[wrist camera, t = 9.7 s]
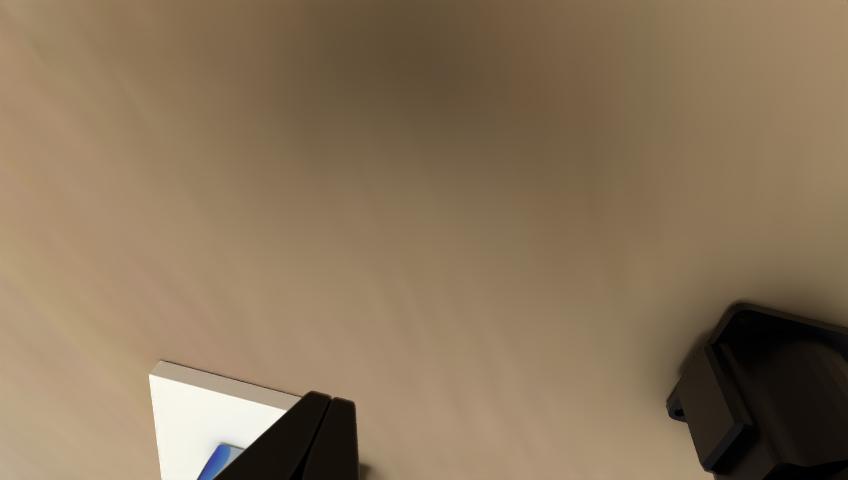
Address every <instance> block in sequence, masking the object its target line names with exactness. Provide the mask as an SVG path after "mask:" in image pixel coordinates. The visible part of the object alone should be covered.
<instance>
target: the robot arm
mask: <svg viewBox="0 0 848 480" xmlns="http://www.w3.org/2000/svg"><path fill="white" fill-rule="evenodd" d="M742 315H747V316H746V317H745V318H739V317H740V316H742ZM666 407H667V411H668V414H669V416H670V417H671V418H672V419H674V420H678V421H682V422H685V423H687V424H688V427H689V430H690V433H691V436H692V439H693V443H694V446H695V449H696V452H697V455H698V458H699V461H700V464H701V466H702V467H703V469H704V471H706V472H710V473H713V475H714V478H715V480H848V329H847V328H843V327H839V326H835V325H831V324H827V323H823V322H819V321H815V320H811V319H807V318H803V317H799V316H795V315H791V314H787V313H783V312H779V311H775V310H772V309H768V308H764V307H760V306H756V305H752V304H747V303H741V304H736V305H735V306H733V307H731V308H730V309H729V311H728V312H727V314H726V315H725V317H724V318H723V320H722V321H721V323H720V324H719V326H718V327H717V329H716V330H715V332H714V333H713V335H712V336H711V338H710V339H709V341H708V342H707V344H706V345H704V346H703V347H702V348H701V349H700V350H699V352H698V353H697V355H696V356H695V358H694V359H693V361H692V363H691V364H690V366H689V367H688V369H687V370H686V372H685V373H684V375H683V376H682V378H681V379H680V381H679V382H678V384H677V385H676V390H675V392H674V393H673V395H672V396H671V398H670V399H669V401H668V402H667V405H666ZM678 409H679V410H678ZM212 480H360V471H359V455H358V439H357V423H356V407H355V403H354V402H353V401H350V400H346V399H343V398H339V397H334V398H333V399H332V397H331V396H330V395H328V394H324V393H320V392H316V391H310V392H308V393H307V394H305V395H304V396H303V397H302V398H301V399H300V400H299V401H298V402H297V403H296V404H294V405H293V406H292V407H291V408H290V409H289V410H288V411H287V412H286V413H285V414H283V415H282V416H281V417H280V418H279V419H278V420H277V421H276V422H275V423H274V424H273V425H271V426H270V427H269V428H268V429H267V430H266V431H265V432H264V433H263V434H262V435H260V436H259V437H258V438H257V439H256V440H255V441H254V442H253V443H252V444H251V445H249V446H248V447H247V448H246V449H245V450H244V451H243V452H242V453H241V454H240V455H239V456H237V457H236V458H235V459H234V460H233V461H232V462H231V463H230V464H229V465H228V466H226V467H225V468H224V469H223V470H222V471H221V472H220V473H219V474H218V475H217V476H215V477H214V478H213V479H212Z"/></svg>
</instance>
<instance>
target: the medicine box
mask: <svg viewBox="0 0 848 480" xmlns="http://www.w3.org/2000/svg"><path fill="white" fill-rule="evenodd" d="M243 451H244V450H242V449H238V448H234V447H230V446H226V445H219V446H218V447H217V448H216V450H215V451H214V453H213V454H212V455H211V457H210V458H209V460H208V461H207V463H206V464H205V466H204V468H203V469H202V471H201V472H200V474H199V476H198V478H197V479H196V480H212V479H213V478H214V477H215V476H217V475H218V474H219V473H220V472H221V471H222V470H223V469H224V468H225V467H226V466H228V465H229V464H230V463H231V462H232V461H233V460H234V459H235V458H236V457H237V456H239V455H240V454H241V453H242V452H243Z"/></svg>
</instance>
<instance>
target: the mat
mask: <svg viewBox="0 0 848 480" xmlns="http://www.w3.org/2000/svg"><path fill="white" fill-rule="evenodd" d="M149 380H150V388H151V396H152V404H153V412H154V420H155V428H156V436H157V445H158V453H159V461H160V469H161V477H162V480H196V479H197V478H198V476H199V474H200V472H201V471H202V469H203V468H204V466H205V464H206V463H207V461H208V460H209V458H210V457H211V455H212V454H213V453H214V451H215V450H216V448H217V447H218V446H219V445H226V446H230V447H234V448H238V449H242V450H245V449H246V448H247V447H248V446H249V445H251V444H252V443H253V442H254V441H255V440H256V439H257V438H258V437H259V436H260V435H262V434H263V433H264V432H265V431H266V430H267V429H268V428H269V427H270V426H271V425H273V424H274V423H275V422H276V421H277V420H278V419H279V418H280V417H281V416H282V415H283V414H285V413H286V412H287V411H288V410H289V409H290V408H291V407H292V406H293V405H294V404H296V403H297V402H298V401H299V400H300V399H301V397H297V396H294V395H290V394H286V393H282V392H278V391H275V390H271V389H267V388H263V387H259V386H256V385H252V384H248V383H244V382H241V381H237V380H233V379H229V378H225V377H222V376H218V375H214V374H210V373H206V372H203V371H199V370H195V369H191V368H188V367H184V366H180V365H176V364H172V363H169V362H165V361H161V360H160V361H159V362H158V363H157V365H156V366H155V367H154V368H153V370H152V371H151V372H150V373H149Z"/></svg>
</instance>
